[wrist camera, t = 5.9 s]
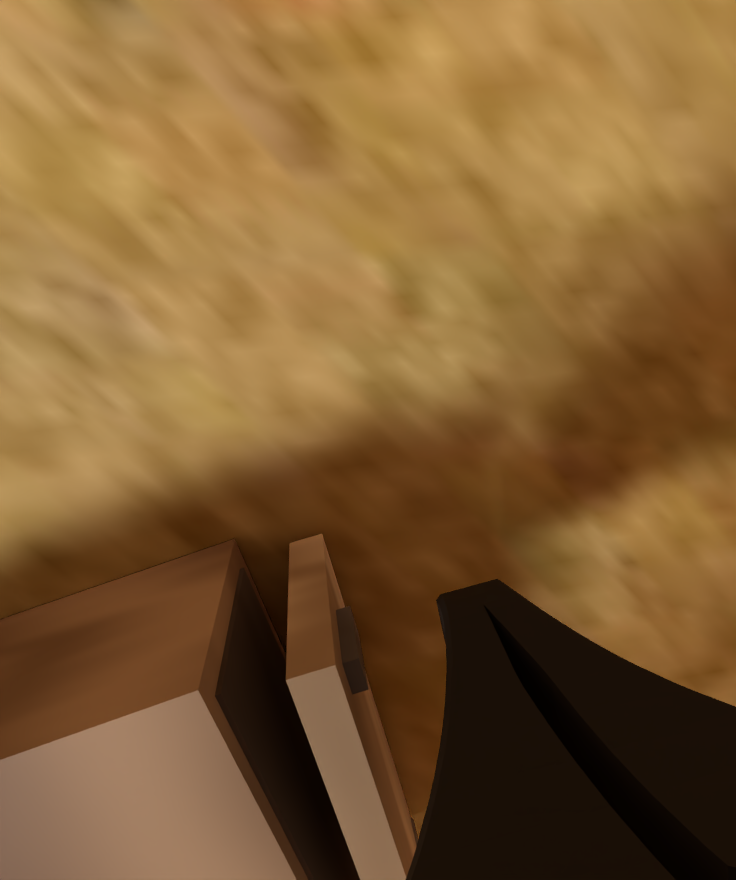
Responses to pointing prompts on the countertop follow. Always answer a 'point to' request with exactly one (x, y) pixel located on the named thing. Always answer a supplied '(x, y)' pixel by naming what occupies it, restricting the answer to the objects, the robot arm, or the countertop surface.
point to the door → (344, 717)
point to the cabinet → (159, 736)
